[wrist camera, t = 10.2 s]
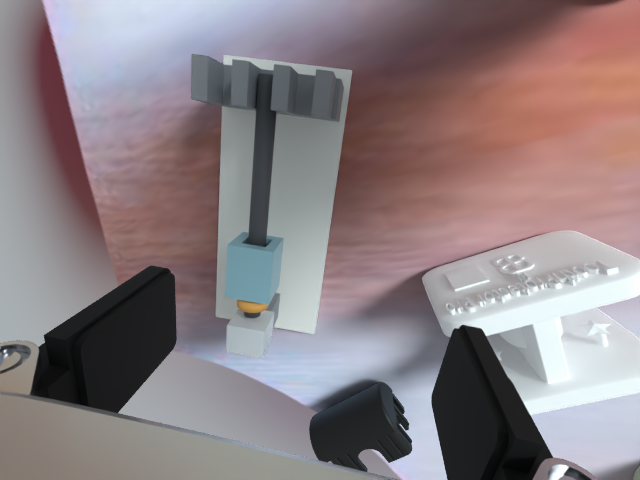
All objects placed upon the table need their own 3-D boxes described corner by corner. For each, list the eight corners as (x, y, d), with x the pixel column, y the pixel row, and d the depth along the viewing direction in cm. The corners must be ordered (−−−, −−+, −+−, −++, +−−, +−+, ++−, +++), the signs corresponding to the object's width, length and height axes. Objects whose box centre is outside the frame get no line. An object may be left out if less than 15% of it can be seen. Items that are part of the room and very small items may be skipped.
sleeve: (243, 231, 32) (227, 244, 28) (283, 238, 31) (273, 252, 28) (240, 278, 33) (225, 297, 30) (279, 285, 33) (268, 305, 29)
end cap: (377, 367, 41) (380, 410, 34) (408, 407, 42) (417, 456, 36) (312, 400, 43) (304, 446, 37) (344, 437, 45) (341, 488, 38)
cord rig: (228, 57, 32) (179, 28, 23) (352, 72, 31) (349, 48, 22) (219, 311, 41) (181, 360, 32) (315, 328, 40) (303, 382, 31)
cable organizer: (443, 345, 39) (477, 428, 28) (416, 265, 36) (441, 323, 25) (583, 308, 36) (684, 386, 25) (564, 218, 33) (666, 260, 22)
